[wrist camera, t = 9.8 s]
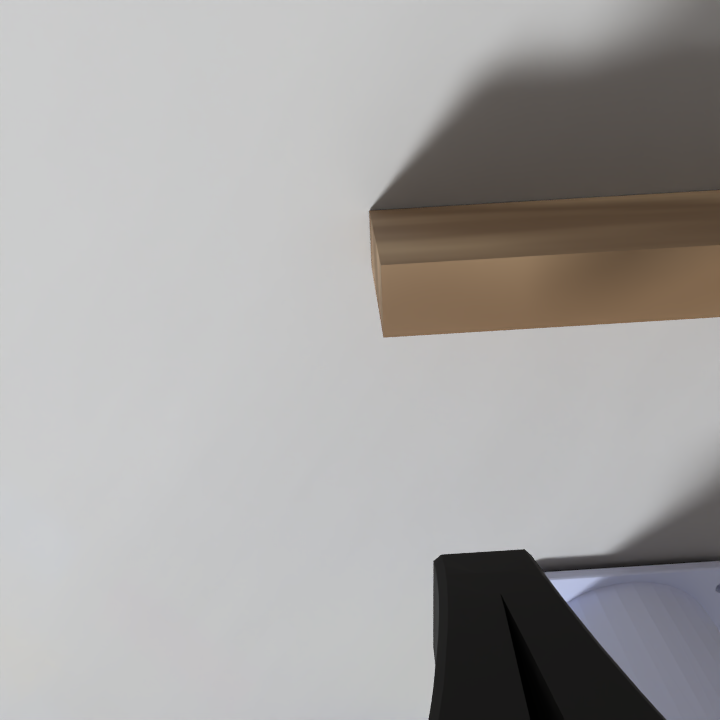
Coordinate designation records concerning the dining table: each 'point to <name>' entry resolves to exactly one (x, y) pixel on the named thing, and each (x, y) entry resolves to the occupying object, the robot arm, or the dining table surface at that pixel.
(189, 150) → the dining table surface
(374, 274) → the brown wooden rack
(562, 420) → the dining table surface
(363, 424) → the dining table surface
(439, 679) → the robot arm
